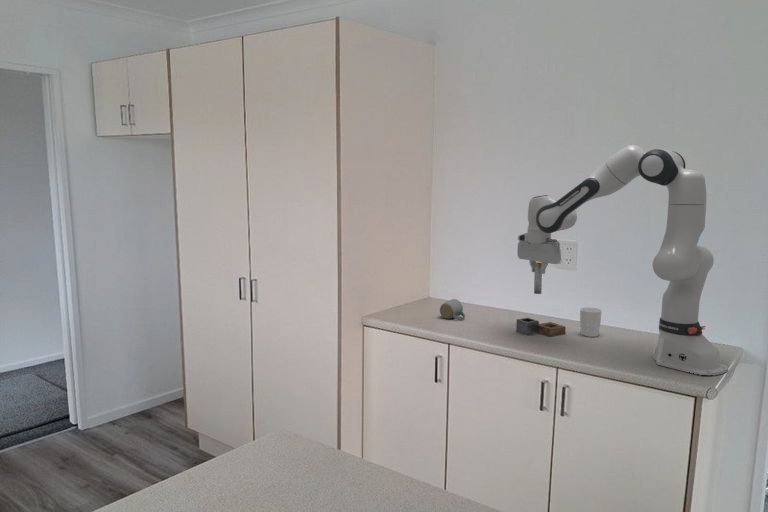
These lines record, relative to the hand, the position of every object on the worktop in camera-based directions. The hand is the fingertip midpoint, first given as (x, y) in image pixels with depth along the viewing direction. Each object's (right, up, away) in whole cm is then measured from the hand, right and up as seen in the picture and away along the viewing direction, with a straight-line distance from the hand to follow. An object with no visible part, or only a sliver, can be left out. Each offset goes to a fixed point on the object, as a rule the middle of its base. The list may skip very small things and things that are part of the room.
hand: (538, 272), depth 229 cm
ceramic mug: (-30, -21, +27) cm, 45 cm away
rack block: (+6, -24, +3) cm, 25 cm away
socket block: (-3, -24, +4) cm, 24 cm away
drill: (0, -8, +1) cm, 8 cm away
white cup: (+20, -24, +1) cm, 32 cm away
